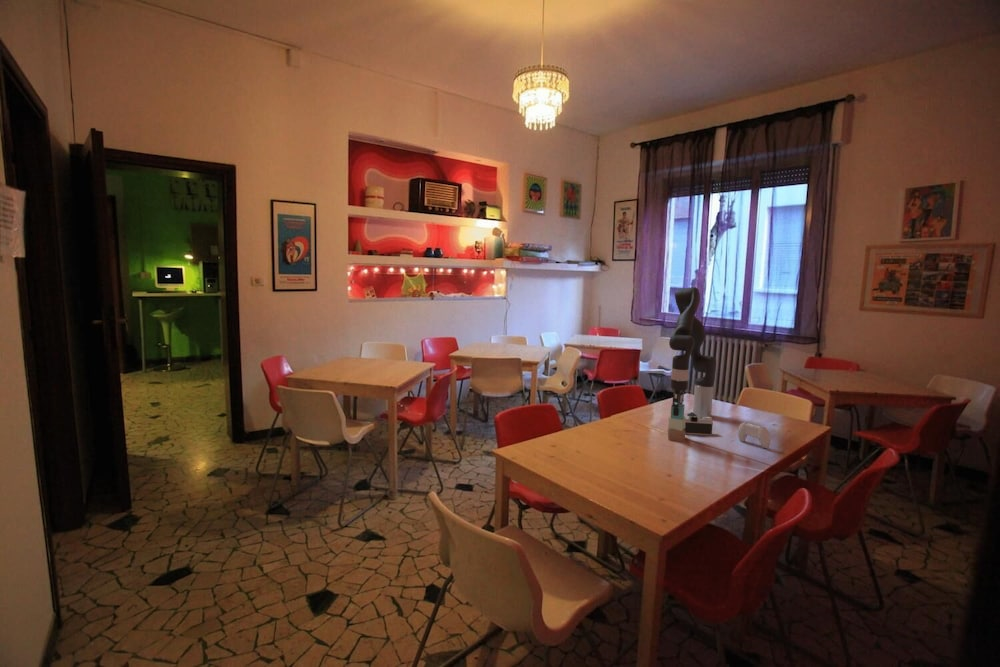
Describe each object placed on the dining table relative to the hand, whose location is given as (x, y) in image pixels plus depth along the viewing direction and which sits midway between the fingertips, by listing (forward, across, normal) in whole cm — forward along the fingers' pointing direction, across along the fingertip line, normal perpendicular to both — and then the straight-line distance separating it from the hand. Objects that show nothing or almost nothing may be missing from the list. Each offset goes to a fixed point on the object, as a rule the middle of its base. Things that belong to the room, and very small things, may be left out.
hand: (677, 413), depth 217 cm
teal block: (+2, 0, 0) cm, 2 cm away
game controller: (+12, -10, +31) cm, 35 cm away
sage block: (+7, 0, 0) cm, 7 cm away
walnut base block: (+12, 0, 0) cm, 12 cm away
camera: (+12, -16, +6) cm, 21 cm away
